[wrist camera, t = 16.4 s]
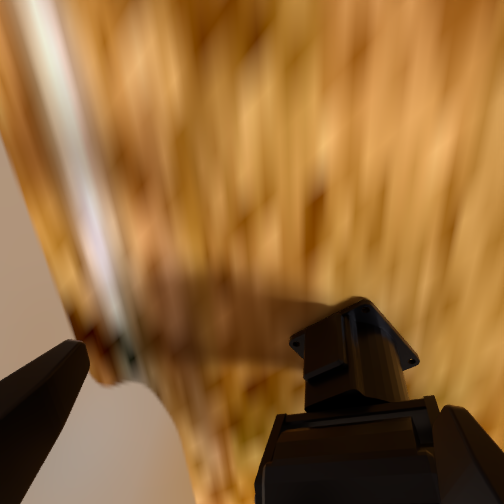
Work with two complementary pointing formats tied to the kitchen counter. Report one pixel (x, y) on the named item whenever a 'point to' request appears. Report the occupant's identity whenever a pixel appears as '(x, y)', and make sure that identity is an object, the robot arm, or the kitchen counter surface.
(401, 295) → the kitchen counter surface
